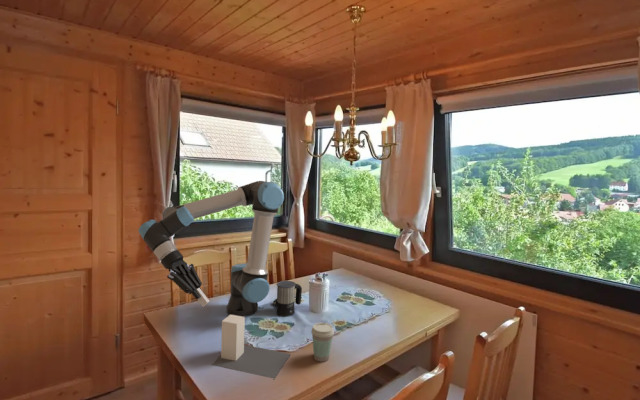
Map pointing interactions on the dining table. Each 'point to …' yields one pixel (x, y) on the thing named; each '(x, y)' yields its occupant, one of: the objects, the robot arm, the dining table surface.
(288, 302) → the milk frother
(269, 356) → the charcoal mat
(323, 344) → the coffee cup
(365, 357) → the dining table surface
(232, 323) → the cream block
